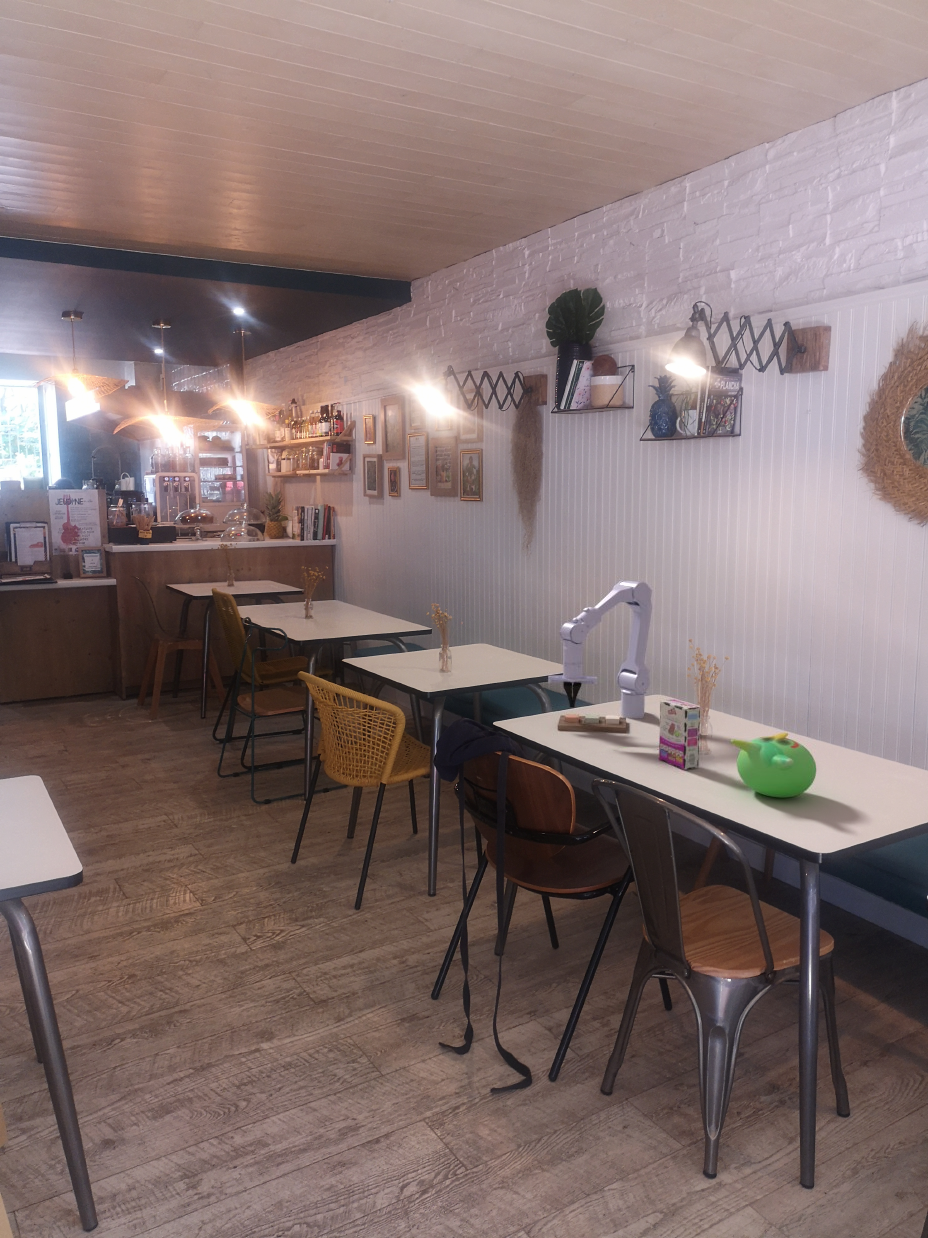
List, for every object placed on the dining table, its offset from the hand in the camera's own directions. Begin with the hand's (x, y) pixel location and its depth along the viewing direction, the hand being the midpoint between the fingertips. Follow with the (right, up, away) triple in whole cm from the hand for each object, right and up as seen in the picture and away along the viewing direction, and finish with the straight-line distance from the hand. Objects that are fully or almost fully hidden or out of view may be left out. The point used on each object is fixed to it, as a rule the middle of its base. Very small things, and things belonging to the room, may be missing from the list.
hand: (572, 706), depth 275 cm
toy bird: (+41, -16, -59) cm, 73 cm away
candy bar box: (+24, -12, -34) cm, 43 cm away
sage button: (+6, -6, 0) cm, 8 cm away
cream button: (+12, -6, -1) cm, 13 cm away
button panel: (+6, -7, 0) cm, 10 cm away
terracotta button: (0, -6, +1) cm, 6 cm away
